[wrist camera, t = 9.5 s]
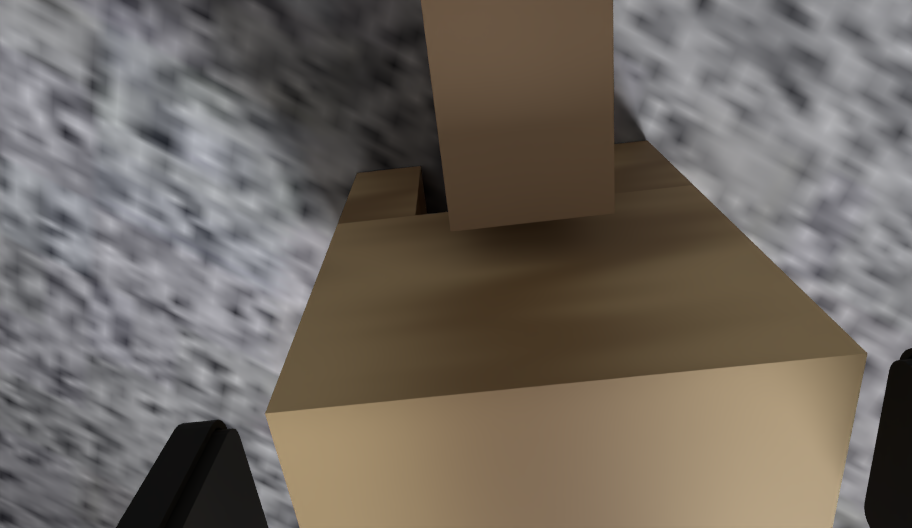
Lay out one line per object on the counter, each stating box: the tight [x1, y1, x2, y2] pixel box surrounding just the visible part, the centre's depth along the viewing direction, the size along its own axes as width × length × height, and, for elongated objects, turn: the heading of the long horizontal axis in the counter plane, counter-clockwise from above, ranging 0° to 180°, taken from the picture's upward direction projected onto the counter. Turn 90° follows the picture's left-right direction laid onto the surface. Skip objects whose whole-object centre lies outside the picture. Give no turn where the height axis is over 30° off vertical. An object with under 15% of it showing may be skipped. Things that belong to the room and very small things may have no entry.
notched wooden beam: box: [421, 0, 615, 232], centre depth 14 cm, size 26×2×6 cm, turn 7°
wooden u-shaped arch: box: [265, 141, 867, 528], centre depth 12 cm, size 7×3×9 cm, turn 96°
